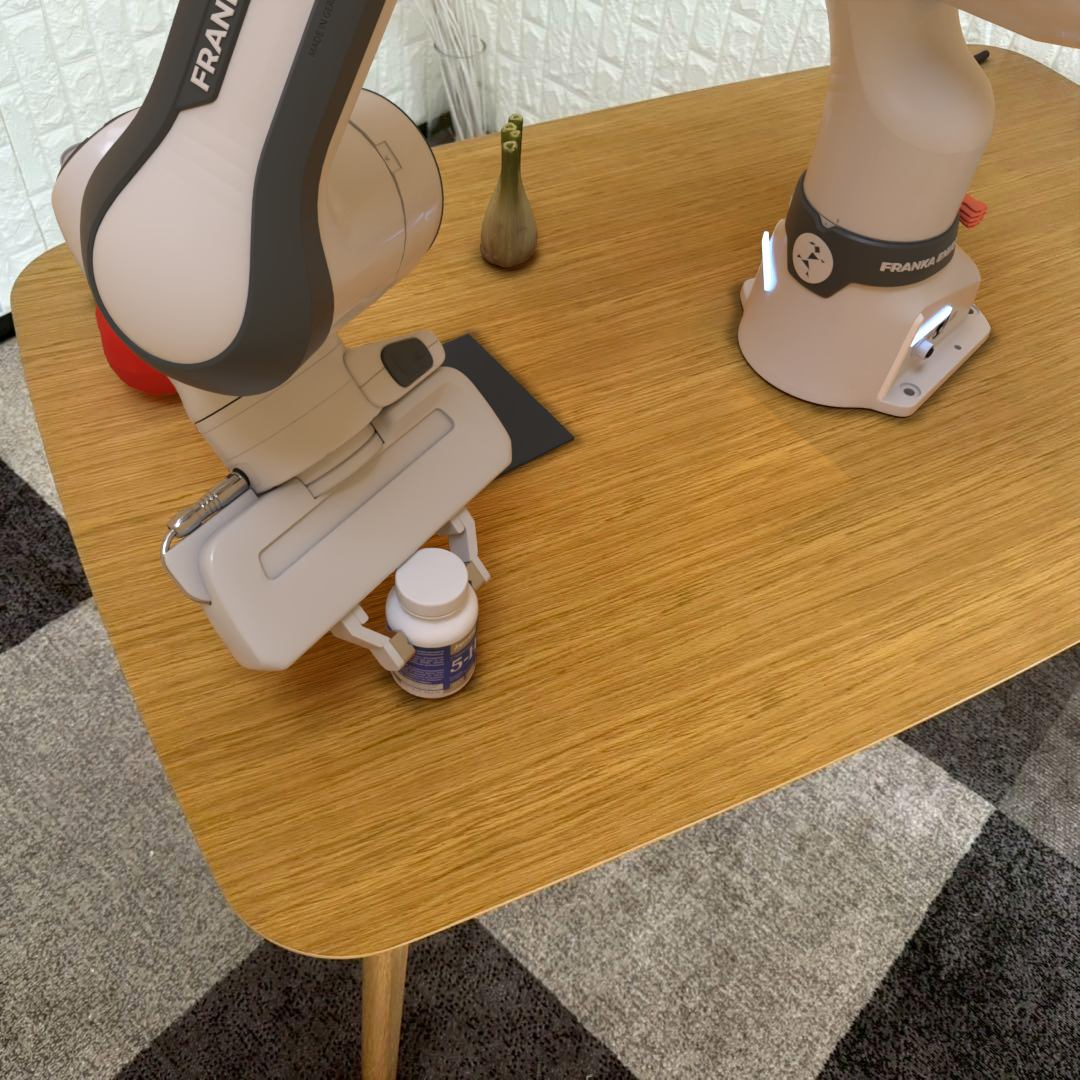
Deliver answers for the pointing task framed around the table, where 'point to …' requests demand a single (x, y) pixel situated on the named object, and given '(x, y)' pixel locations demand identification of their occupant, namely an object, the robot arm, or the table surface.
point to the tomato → (131, 363)
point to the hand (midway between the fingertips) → (441, 623)
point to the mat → (507, 402)
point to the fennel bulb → (509, 206)
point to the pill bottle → (434, 622)
